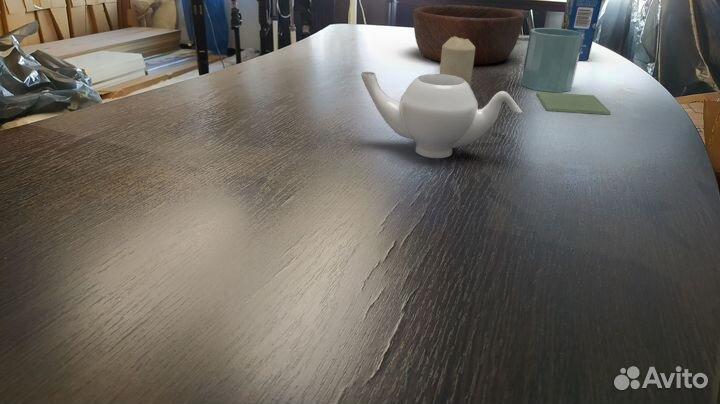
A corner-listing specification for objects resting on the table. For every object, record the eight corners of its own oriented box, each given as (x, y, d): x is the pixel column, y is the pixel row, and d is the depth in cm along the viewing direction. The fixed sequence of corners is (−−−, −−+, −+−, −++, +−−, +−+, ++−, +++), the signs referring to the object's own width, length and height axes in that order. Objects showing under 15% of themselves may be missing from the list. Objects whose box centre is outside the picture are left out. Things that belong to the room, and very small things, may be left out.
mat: (593, 98, 89) (594, 95, 89) (610, 114, 81) (610, 111, 80) (536, 94, 90) (536, 91, 90) (546, 110, 82) (546, 107, 81)
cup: (565, 81, 100) (576, 29, 95) (576, 93, 92) (589, 37, 87) (518, 78, 101) (527, 27, 96) (525, 90, 93) (535, 34, 88)
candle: (475, 97, 88) (483, 38, 83) (455, 102, 84) (462, 41, 80) (451, 90, 91) (457, 33, 87) (431, 95, 88) (436, 36, 83)
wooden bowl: (508, 49, 129) (514, 7, 124) (526, 71, 107) (535, 20, 102) (411, 45, 131) (414, 3, 126) (409, 65, 109) (413, 16, 104)
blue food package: (581, 52, 128) (605, -58, 117) (588, 61, 118) (616, -58, 106) (555, 50, 130) (577, -58, 118) (560, 59, 119) (585, -59, 108)
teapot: (512, 176, 58) (527, 98, 54) (349, 154, 63) (350, 80, 58) (514, 147, 66) (526, 78, 62) (369, 130, 71) (371, 64, 67)
